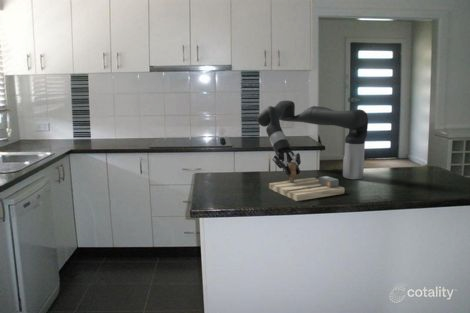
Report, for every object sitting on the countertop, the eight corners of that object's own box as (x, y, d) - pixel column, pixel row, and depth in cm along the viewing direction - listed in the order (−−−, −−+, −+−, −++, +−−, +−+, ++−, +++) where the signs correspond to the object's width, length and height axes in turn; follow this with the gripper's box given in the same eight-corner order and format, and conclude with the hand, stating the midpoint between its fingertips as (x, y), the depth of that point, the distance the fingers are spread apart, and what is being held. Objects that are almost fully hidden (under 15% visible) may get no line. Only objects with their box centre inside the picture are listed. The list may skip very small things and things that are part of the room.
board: (268, 188, 189) (268, 182, 189) (313, 182, 199) (313, 177, 199) (296, 200, 170) (296, 194, 169) (344, 193, 180) (344, 187, 179)
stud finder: (318, 183, 187) (318, 176, 186) (326, 182, 189) (327, 175, 188) (330, 187, 180) (330, 180, 179) (338, 186, 182) (338, 179, 181)
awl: (285, 187, 192) (285, 162, 190) (292, 186, 193) (293, 161, 191) (290, 189, 188) (290, 164, 186) (297, 188, 190) (298, 163, 188)
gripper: (289, 147, 202) (304, 177, 194) (263, 149, 196) (277, 180, 188) (296, 137, 197) (311, 167, 188) (269, 139, 191) (283, 171, 182)
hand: (294, 174), depth 188 cm, fingers closed on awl, 4 cm apart
